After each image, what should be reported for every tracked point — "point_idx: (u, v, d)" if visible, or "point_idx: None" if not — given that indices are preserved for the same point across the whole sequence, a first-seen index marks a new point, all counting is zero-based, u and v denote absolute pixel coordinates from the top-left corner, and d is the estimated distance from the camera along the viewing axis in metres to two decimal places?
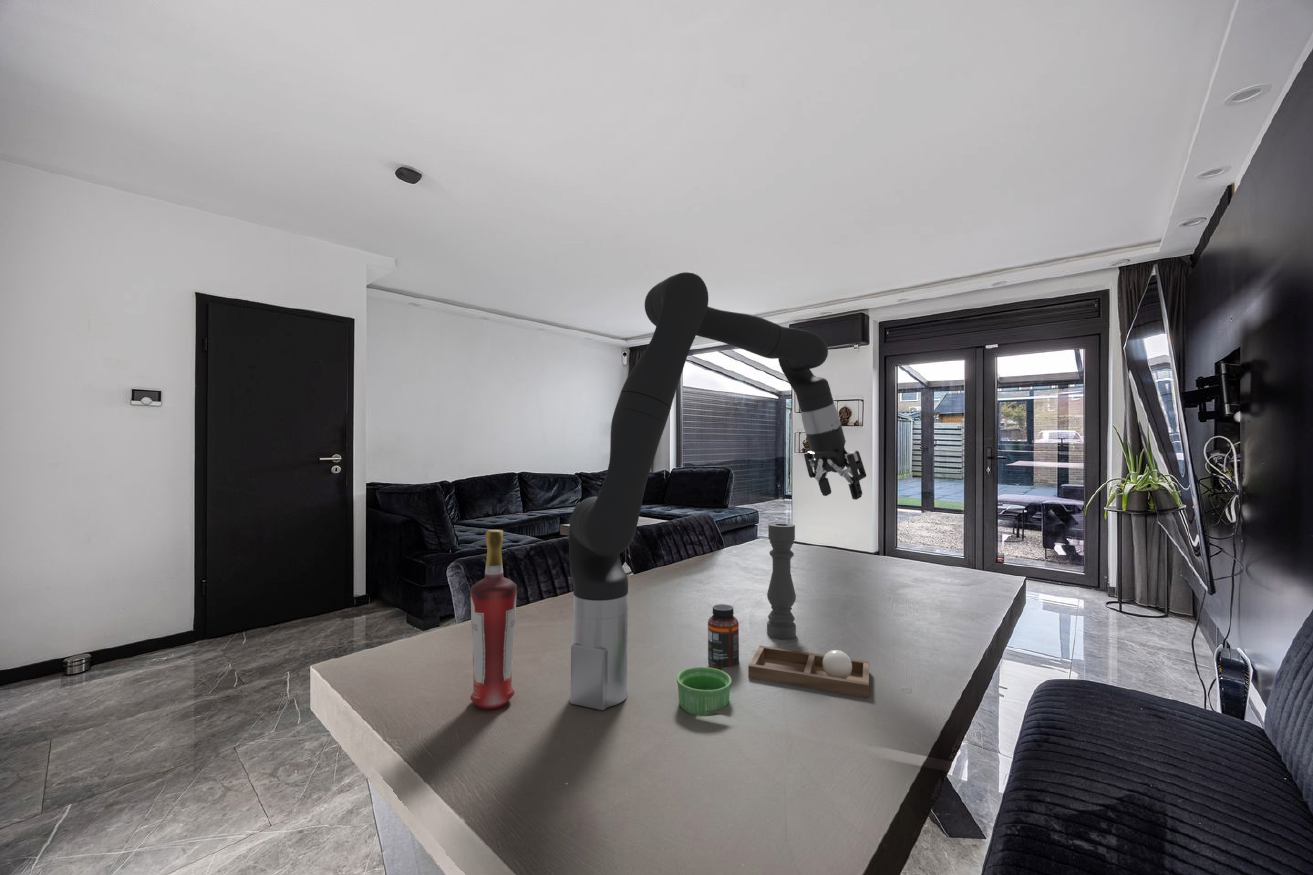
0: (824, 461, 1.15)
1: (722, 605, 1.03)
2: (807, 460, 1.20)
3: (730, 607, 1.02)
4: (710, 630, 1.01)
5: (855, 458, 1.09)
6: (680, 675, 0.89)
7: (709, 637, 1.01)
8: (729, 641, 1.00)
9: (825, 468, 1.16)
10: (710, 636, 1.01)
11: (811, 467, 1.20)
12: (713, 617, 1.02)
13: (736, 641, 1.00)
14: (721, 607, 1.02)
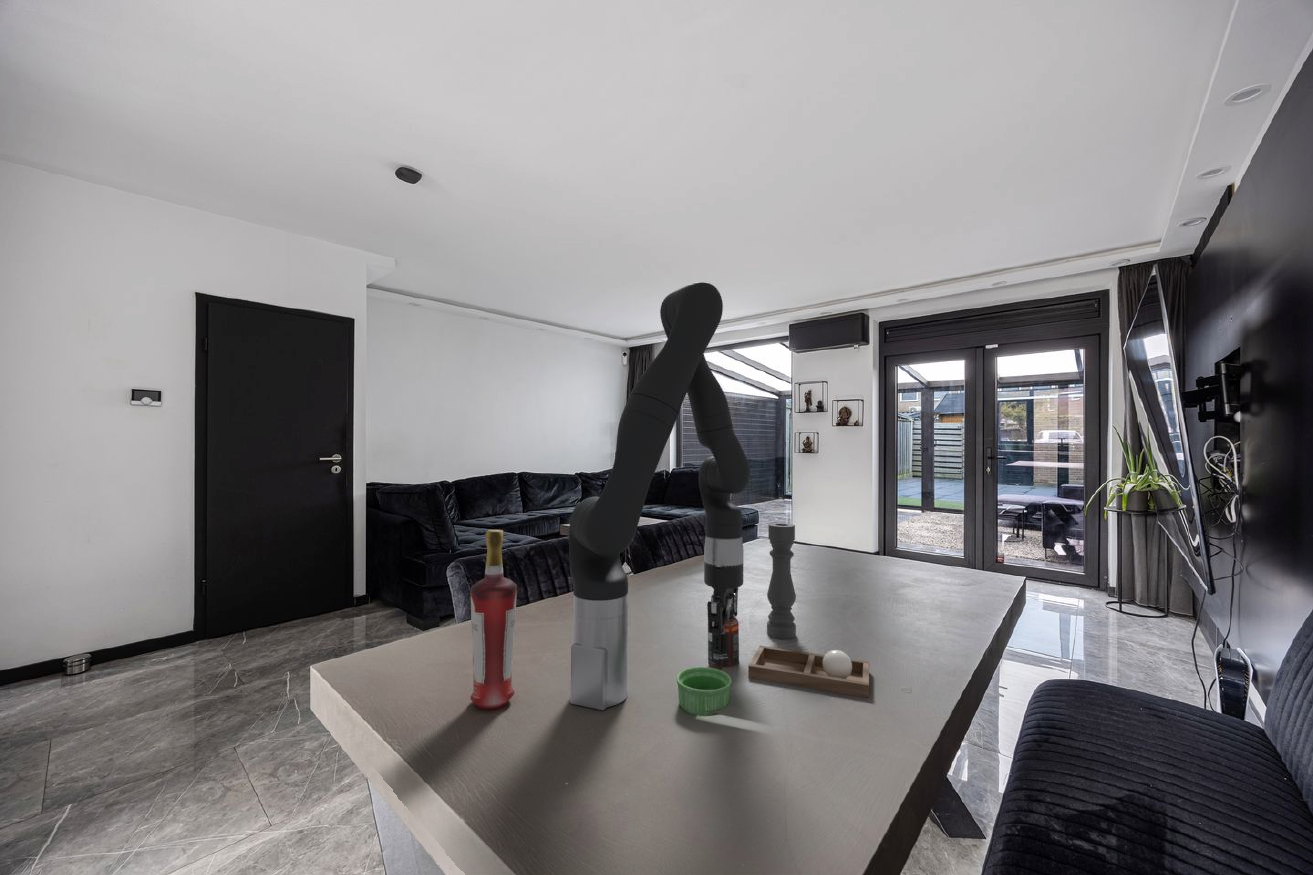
0: None
1: None
2: None
3: None
4: None
5: (712, 609, 0.96)
6: (680, 675, 0.89)
7: (709, 637, 1.01)
8: (729, 641, 1.00)
9: None
10: (710, 636, 1.01)
11: None
12: None
13: (736, 641, 1.00)
14: None
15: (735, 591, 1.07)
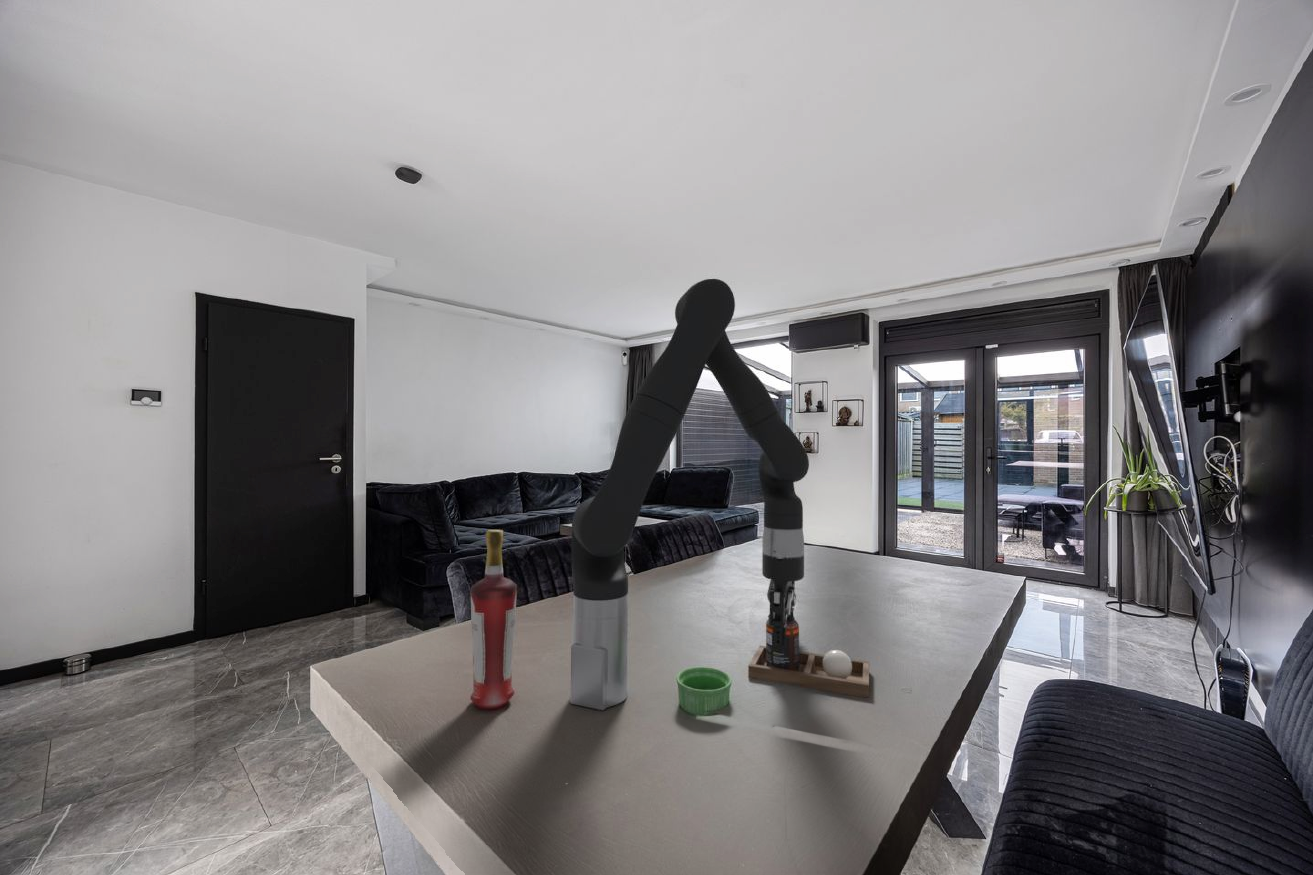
0: None
1: None
2: None
3: (790, 609, 0.98)
4: (769, 632, 0.97)
5: (775, 599, 0.92)
6: (680, 675, 0.89)
7: (768, 640, 0.97)
8: (790, 644, 0.95)
9: None
10: (770, 639, 0.97)
11: None
12: None
13: (797, 644, 0.96)
14: None
15: (792, 582, 1.03)
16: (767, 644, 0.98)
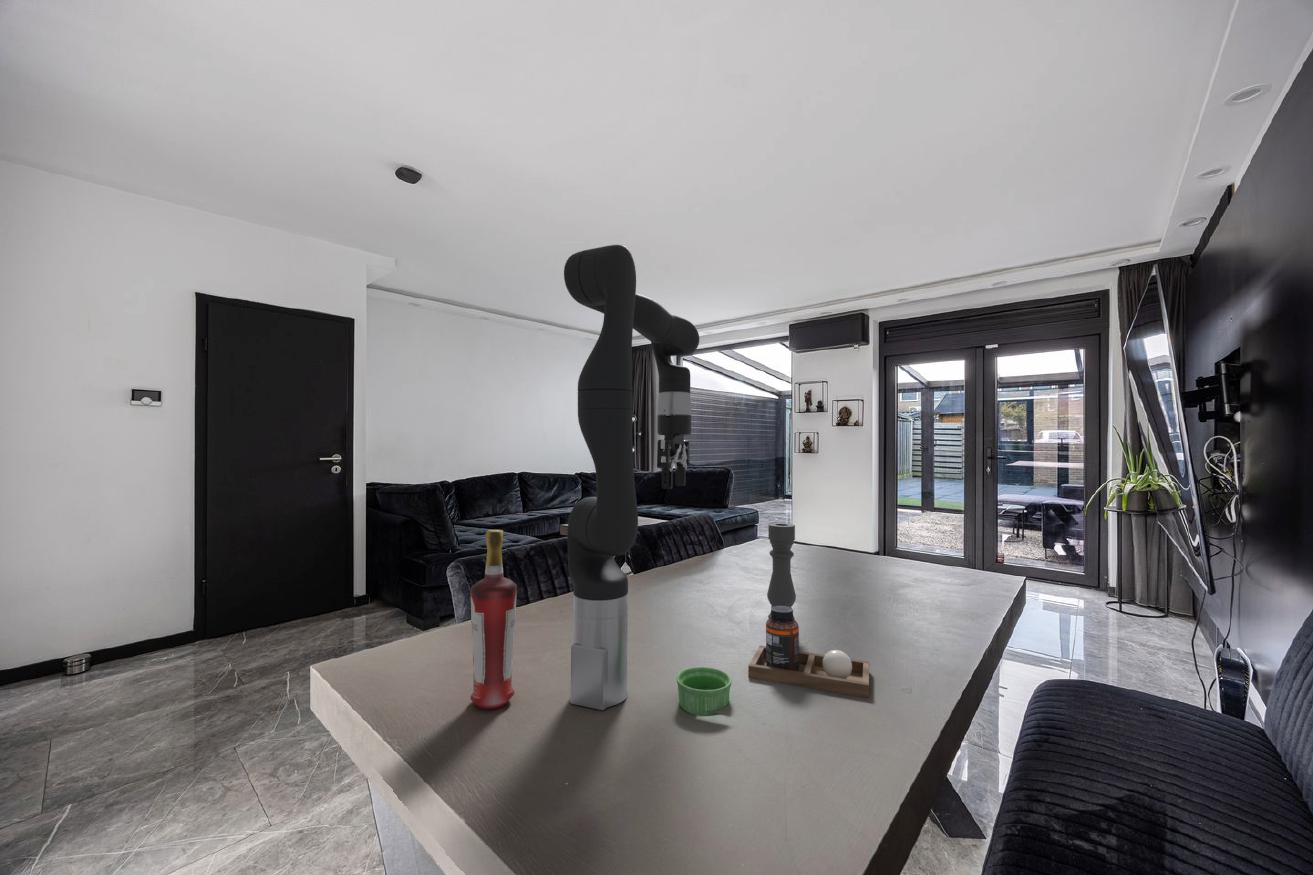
0: None
1: (780, 607, 0.99)
2: None
3: (789, 609, 0.98)
4: (769, 633, 0.97)
5: (661, 445, 1.11)
6: (680, 675, 0.89)
7: (768, 640, 0.97)
8: (790, 644, 0.95)
9: None
10: (770, 639, 0.97)
11: None
12: (772, 619, 0.97)
13: (797, 644, 0.96)
14: (780, 608, 0.98)
15: (686, 445, 1.22)
16: (767, 644, 0.98)
